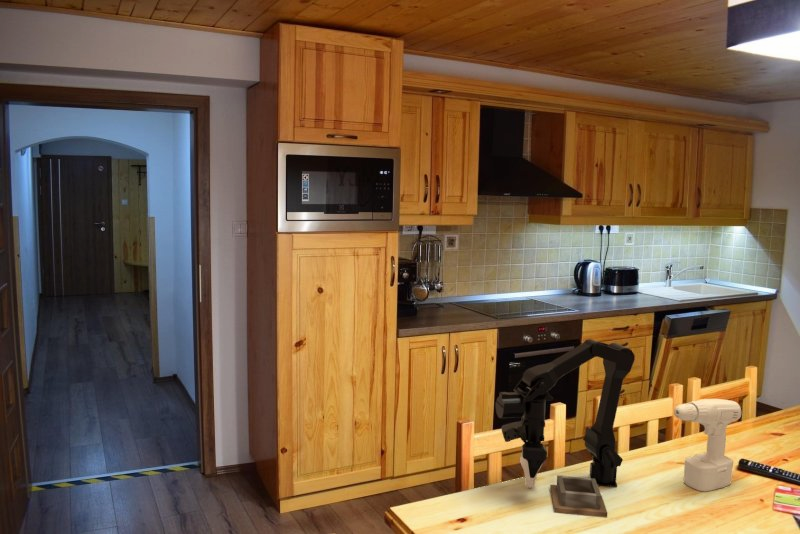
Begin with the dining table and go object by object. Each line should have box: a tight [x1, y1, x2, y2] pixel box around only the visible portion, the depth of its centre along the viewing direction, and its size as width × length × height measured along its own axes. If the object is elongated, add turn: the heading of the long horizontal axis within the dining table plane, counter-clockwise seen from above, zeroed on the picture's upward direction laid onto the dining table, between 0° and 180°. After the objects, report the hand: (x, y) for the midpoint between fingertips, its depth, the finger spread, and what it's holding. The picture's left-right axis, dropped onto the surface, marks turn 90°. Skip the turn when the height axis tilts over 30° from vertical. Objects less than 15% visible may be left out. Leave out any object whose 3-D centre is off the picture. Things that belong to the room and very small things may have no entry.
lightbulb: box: [519, 453, 543, 489], centre depth 177 cm, size 6×6×11 cm
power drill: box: [673, 398, 742, 492], centre depth 180 cm, size 8×24×25 cm, turn 116°
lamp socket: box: [549, 474, 608, 518], centre depth 169 cm, size 13×13×5 cm
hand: (530, 470), depth 177 cm, fingers open, 9 cm apart
